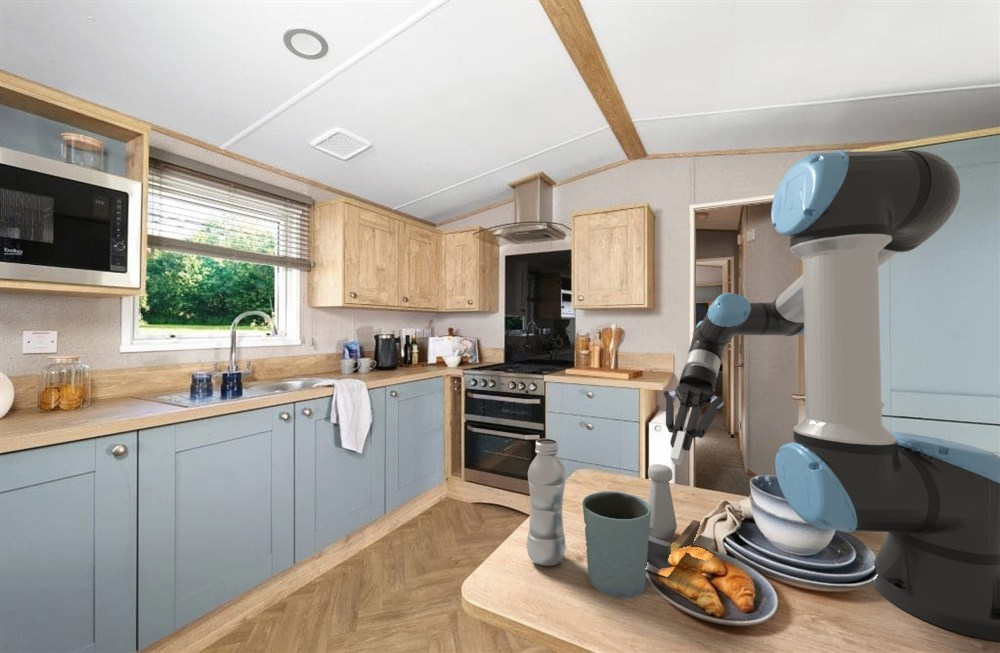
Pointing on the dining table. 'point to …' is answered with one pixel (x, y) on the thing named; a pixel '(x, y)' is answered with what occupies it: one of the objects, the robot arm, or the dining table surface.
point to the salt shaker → (661, 503)
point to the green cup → (617, 542)
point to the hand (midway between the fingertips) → (675, 461)
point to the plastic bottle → (546, 505)
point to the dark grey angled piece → (670, 546)
